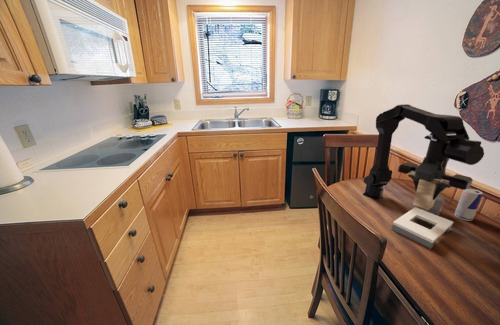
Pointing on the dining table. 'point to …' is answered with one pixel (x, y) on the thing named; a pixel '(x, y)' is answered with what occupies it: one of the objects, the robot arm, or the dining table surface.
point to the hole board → (421, 227)
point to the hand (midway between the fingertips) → (425, 196)
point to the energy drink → (468, 204)
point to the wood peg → (425, 193)
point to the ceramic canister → (435, 206)
